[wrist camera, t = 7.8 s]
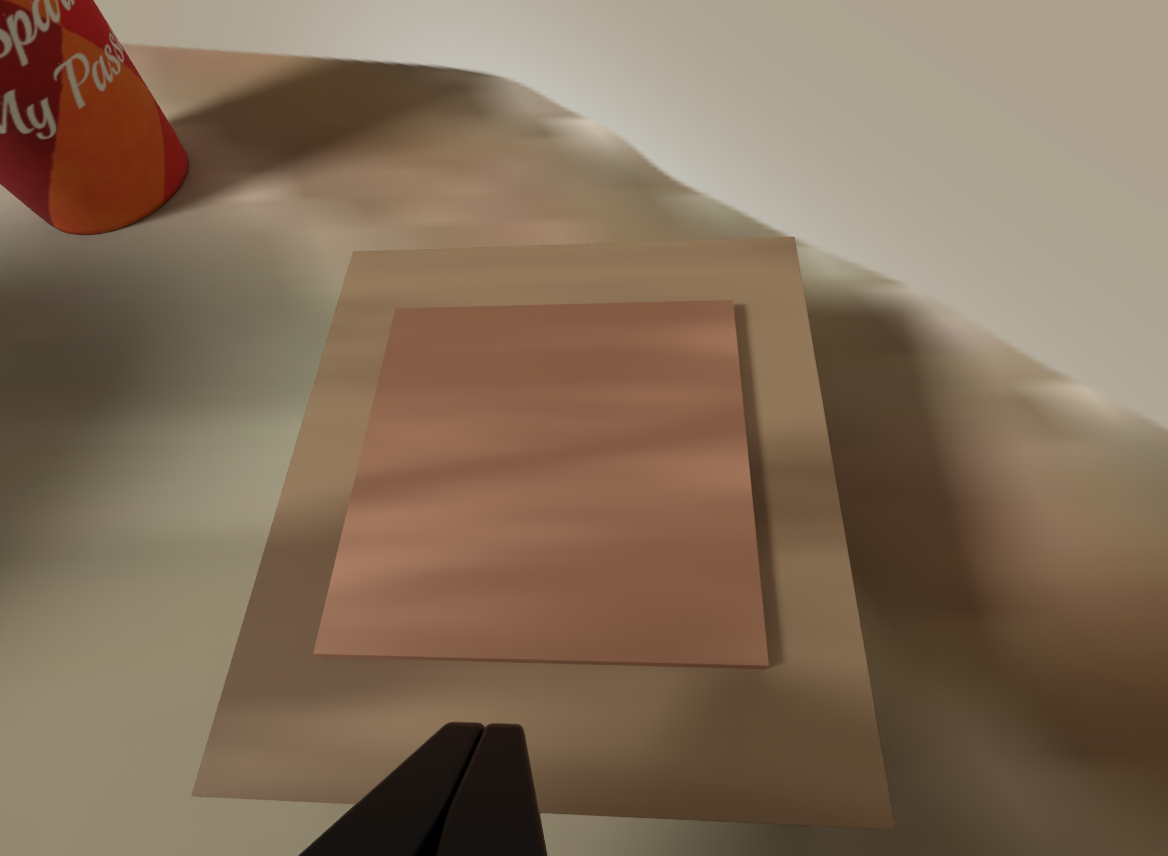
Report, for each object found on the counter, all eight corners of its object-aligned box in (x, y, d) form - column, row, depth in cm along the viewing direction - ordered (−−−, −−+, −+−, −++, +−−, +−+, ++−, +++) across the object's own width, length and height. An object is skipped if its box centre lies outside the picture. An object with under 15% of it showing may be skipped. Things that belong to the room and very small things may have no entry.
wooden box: (902, 831, 8) (796, 226, 14) (179, 796, 9) (347, 242, 15) (812, 820, 13) (759, 369, 18) (332, 797, 14) (418, 374, 19)
